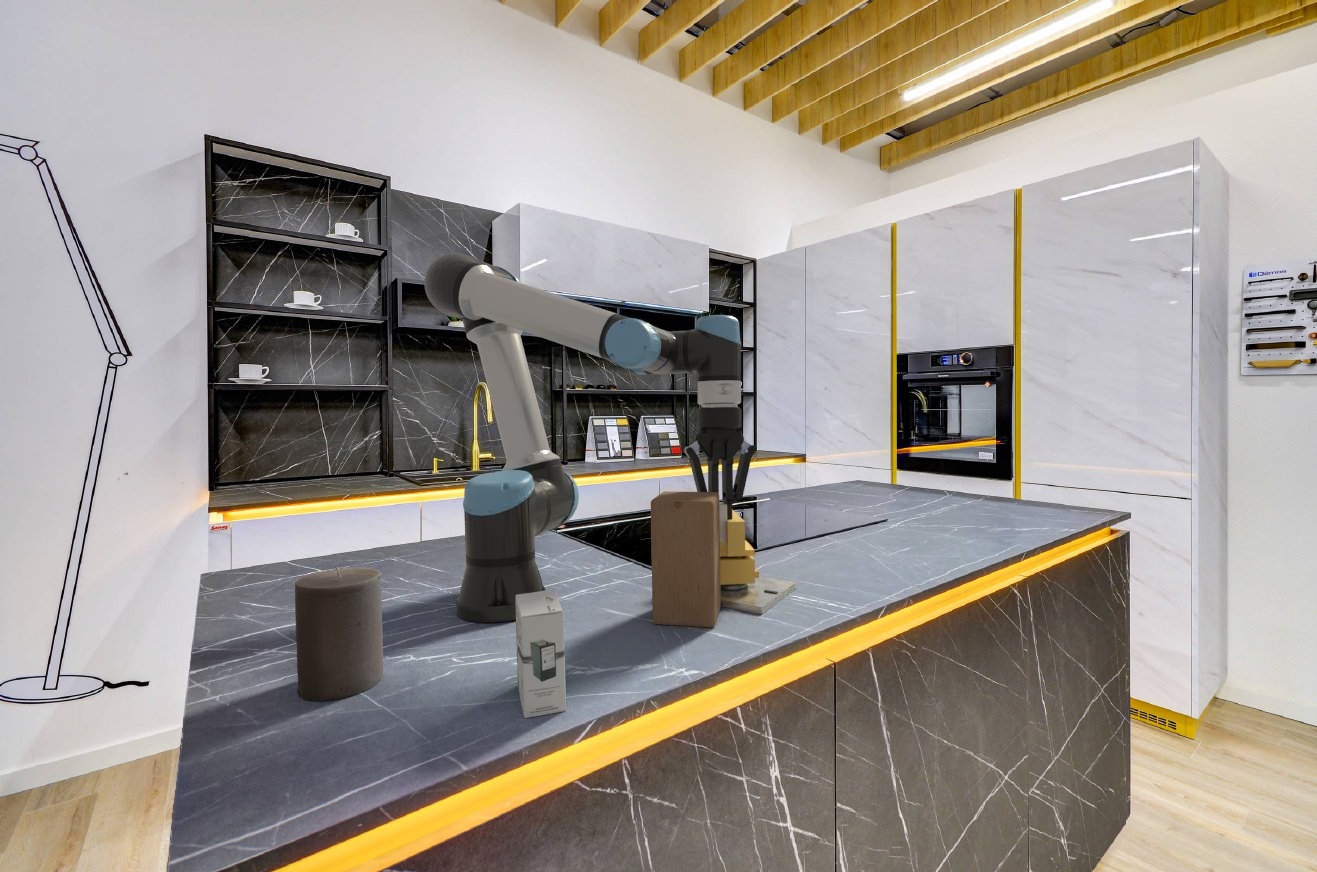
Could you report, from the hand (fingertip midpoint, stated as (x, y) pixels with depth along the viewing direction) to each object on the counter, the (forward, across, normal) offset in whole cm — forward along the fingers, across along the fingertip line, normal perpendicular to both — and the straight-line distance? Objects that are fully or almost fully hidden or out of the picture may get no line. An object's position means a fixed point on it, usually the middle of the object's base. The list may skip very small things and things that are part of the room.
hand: (721, 540), depth 101 cm
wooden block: (+11, -8, -5) cm, 15 cm away
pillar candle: (+11, -56, -18) cm, 60 cm away
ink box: (+11, -32, -28) cm, 43 cm away
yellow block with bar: (+8, +3, +5) cm, 10 cm away
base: (+11, +3, +5) cm, 12 cm away
